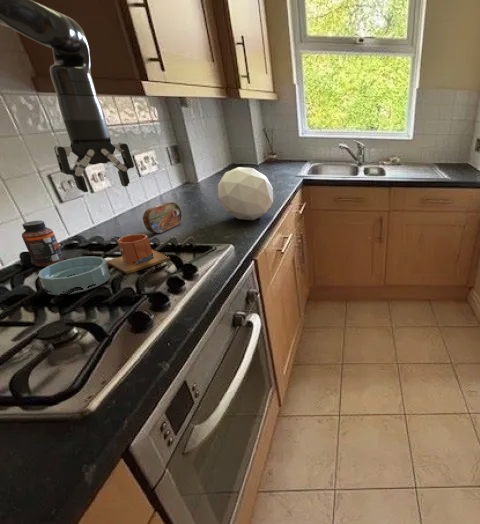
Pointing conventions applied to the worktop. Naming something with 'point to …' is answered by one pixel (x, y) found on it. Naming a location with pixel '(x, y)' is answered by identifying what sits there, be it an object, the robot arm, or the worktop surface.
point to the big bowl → (85, 275)
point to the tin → (162, 217)
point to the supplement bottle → (41, 244)
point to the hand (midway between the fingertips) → (105, 188)
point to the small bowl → (134, 247)
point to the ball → (245, 193)
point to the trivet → (130, 268)
